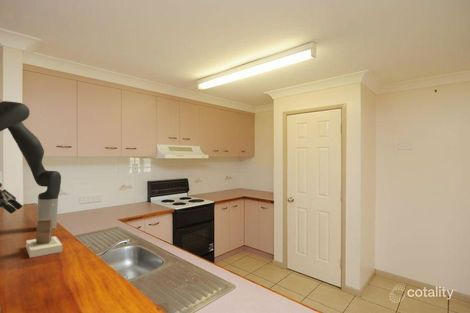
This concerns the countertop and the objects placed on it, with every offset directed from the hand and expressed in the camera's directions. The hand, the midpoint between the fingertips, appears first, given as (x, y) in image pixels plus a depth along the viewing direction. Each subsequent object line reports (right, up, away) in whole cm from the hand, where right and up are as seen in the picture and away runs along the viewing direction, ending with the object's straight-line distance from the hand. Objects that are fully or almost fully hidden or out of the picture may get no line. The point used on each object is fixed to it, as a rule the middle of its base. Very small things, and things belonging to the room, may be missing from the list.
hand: (17, 209), depth 107 cm
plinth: (+8, -19, +4) cm, 21 cm away
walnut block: (+8, -15, +4) cm, 18 cm away
